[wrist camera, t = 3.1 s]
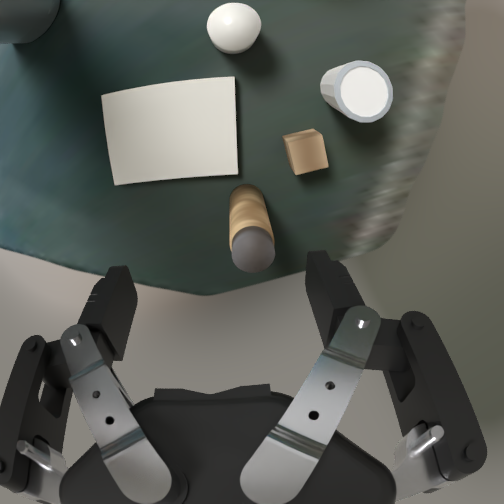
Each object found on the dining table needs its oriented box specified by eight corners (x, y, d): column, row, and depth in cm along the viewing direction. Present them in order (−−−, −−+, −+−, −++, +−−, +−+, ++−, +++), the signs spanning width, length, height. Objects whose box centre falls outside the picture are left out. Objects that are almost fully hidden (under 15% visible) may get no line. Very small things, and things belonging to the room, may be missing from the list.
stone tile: (117, 182, 35) (114, 185, 34) (105, 94, 29) (101, 95, 28) (237, 171, 36) (237, 174, 35) (234, 76, 29) (234, 76, 28)
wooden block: (289, 165, 36) (295, 175, 33) (282, 136, 34) (287, 142, 30) (319, 157, 36) (328, 167, 32) (312, 128, 33) (321, 134, 30)
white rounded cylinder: (212, 56, 28) (209, 50, 23) (208, 17, 25) (205, 5, 20) (257, 52, 28) (263, 45, 23) (254, 13, 25) (258, 1, 20)
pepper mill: (230, 215, 39) (231, 275, 28) (228, 184, 37) (228, 235, 26) (263, 214, 39) (276, 272, 29) (263, 183, 37) (278, 233, 26)
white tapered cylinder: (336, 124, 33) (358, 135, 27) (303, 81, 30) (320, 82, 24) (376, 96, 31) (404, 102, 25) (345, 52, 28) (370, 49, 22)
